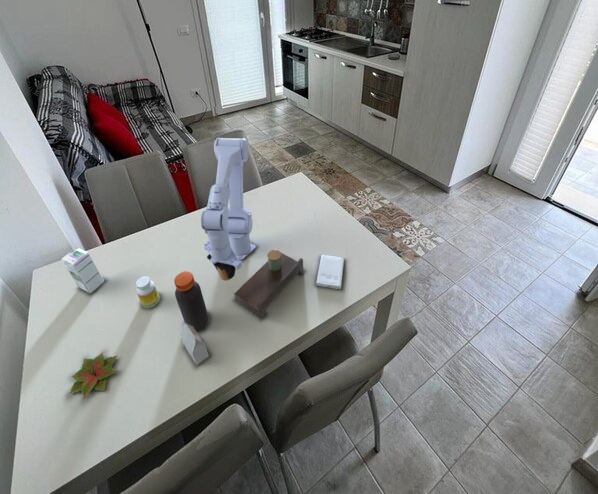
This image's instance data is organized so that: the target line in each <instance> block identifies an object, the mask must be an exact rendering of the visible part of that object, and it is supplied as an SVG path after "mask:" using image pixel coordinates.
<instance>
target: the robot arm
mask: <svg viewBox="0 0 598 494" xmlns="http://www.w3.org/2000/svg"><path fill="white" fill-rule="evenodd" d="M213 152H214V155H215V159H216V160H217V169H216V178H215V183H214V184H213V185H212V186H210V190H209V194H208V201H207V204H206V209H205V210H203V211H202V213H201V218H200V224H201V225H200V226H201V229H202V230H204V233H205V234H206V235H207V238H208V241H206V242H205V243H204V244H203V248H204V250H205V251H207V252H208V253H209V254H208V255H207V256H206V259H207V260H209V261H210V262H211V264H212V265H213V266H214V268H215V269H216V271H217V272H218V268H217V262H220V263H224V264H225V265H223V266H222V268H223V269H224V270H225V272H226V274H227V277H228V278H229V279H230V280H232V279H233V278H234V277H235V276H236V271H238V270H239V269H240V268H242V267H243V263H242V262H243V260H244V259H245V258H246V257H248V255H249V254H251V253H252V252H253V251H254V250H255V249H256V248H257V246H256V245H255V244H253V243H252V242H251V238H250V234H251V232H252V231H253V223H254V222H253V218H252V217H253V216H252V212H251V211H250V210H249V209H248V208H246V207H245V206H244V163H245V162H248V161H249V143H248V140H247V139H246V138H244V137H243V138H228V137H227V138H225V137H216V139H215V140H214V143H213ZM228 207H229V208H228Z"/></svg>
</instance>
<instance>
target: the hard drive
mask: <svg viewBox="0 0 598 494" xmlns="http://www.w3.org/2000/svg"><path fill="white" fill-rule="evenodd" d="M344 265H345V257H340V256H334V255H327V254H321V256H320V261H319V266H318V270H317V271H318V272H317V277H316V283H315V286H318V287H322V288H329V289H335V290H341V289H342V281H343V273H344Z"/></svg>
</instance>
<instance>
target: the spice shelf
mask: <svg viewBox="0 0 598 494" xmlns="http://www.w3.org/2000/svg"><path fill="white" fill-rule="evenodd" d="M281 264H282V266H281V268H280V269H279V270H278V271H272V270H270V269H269V264H268V260H267V261H266V262H265V263H263V265H262V266H261V267H260V268H258V270H257V271H256V272H255V273H254V274H253V275H252V276H251V277H249V278H248V280H247V281H245V283H244V284H242V285H241V286H240V288H238V289H237V290H236V291H235V292H234V293H233V294H234V299H235V301H236V302H237V303H239V304H240V305H242V306H243V307H244V308H246V309H247V310H248V311H250V312H252V313H253V314H255V315H256V316H257V317H258V318H259V319H262V318H263V317H264V316H265V314H266V313H265V310H266V309H267V308H268V306H270V305H271V303H272V302H273V301H274V300H275V299H276V298H277V297H278V295H279V294H281V292H283V290H284V289H285V288H286V287H287V286H288V284H290V282H291V281H292V280H293V279H294V278H295V277H296V276H297V274H298V275H302V274H303V272H304V258H302V257H300V258H299V259H298V260H296V259H294V258H293V257H290V256H288V255H286V254H284V253H283V252H281Z"/></svg>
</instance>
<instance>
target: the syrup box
mask: <svg viewBox="0 0 598 494" xmlns="http://www.w3.org/2000/svg"><path fill="white" fill-rule="evenodd" d="M61 261H62V263H63V264H64V266H65V268H66V269H67V271H68V272H69V274H70V275H71V277H72V279H73V280H74V281H75V284H76V285H77V286H78V288H79V289H80V290H83V291H84V292H87V293H88V294H92V293H93V292H95V291H96V290H97V289H98V288H99V287H100V286H101V285H103V284H104V283H105V279H104V277H103V275H102V274H101V272H100V270H99V268H98V267H97V265H96V263H95V261H94V259H93V258H92V256H91V254H90V252H88V251H86V250H84V249H81V248H80V247H75V248H74V249H72V250H71V251H69V252H68V253H67V254H66V255H64V256H63V257H62V258H61Z"/></svg>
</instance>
